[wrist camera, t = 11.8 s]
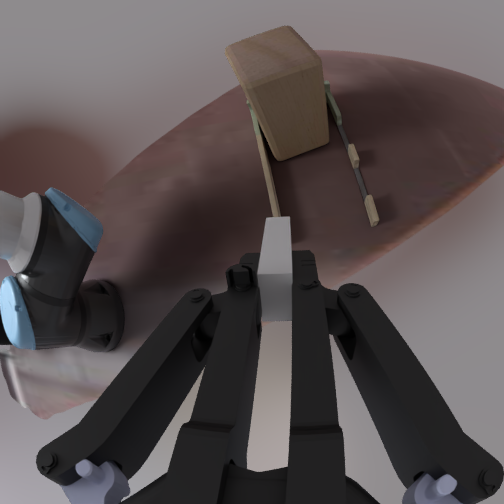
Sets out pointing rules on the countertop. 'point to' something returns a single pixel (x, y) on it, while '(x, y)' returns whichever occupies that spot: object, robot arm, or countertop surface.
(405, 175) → the countertop surface
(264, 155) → the trap lane
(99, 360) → the countertop surface
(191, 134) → the countertop surface
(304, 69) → the wooden block
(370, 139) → the countertop surface
